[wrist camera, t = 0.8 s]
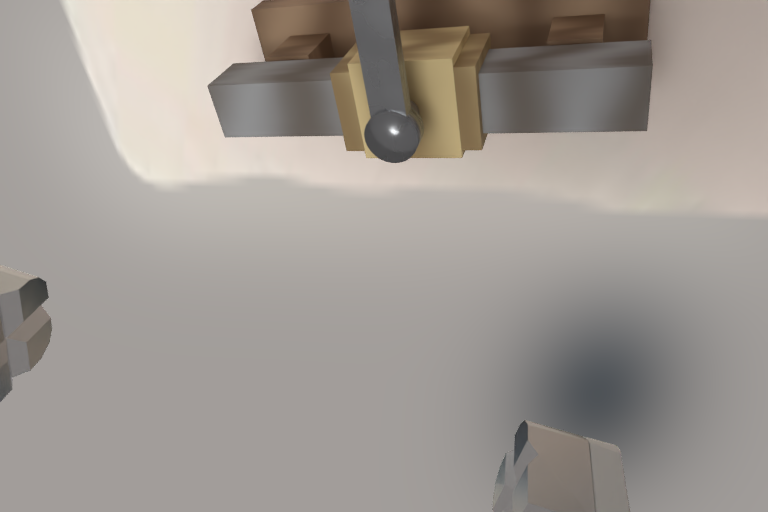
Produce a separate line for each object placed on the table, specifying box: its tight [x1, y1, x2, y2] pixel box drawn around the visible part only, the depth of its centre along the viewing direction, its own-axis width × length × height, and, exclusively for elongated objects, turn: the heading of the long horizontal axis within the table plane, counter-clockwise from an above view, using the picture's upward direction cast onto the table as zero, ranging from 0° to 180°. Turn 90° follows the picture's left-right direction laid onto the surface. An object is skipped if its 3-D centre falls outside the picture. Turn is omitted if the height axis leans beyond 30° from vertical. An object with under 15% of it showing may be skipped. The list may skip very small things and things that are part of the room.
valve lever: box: [348, 0, 424, 163], centre depth 32 cm, size 15×3×2 cm, turn 9°
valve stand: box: [208, 0, 652, 158], centre depth 41 cm, size 26×8×12 cm, turn 99°
